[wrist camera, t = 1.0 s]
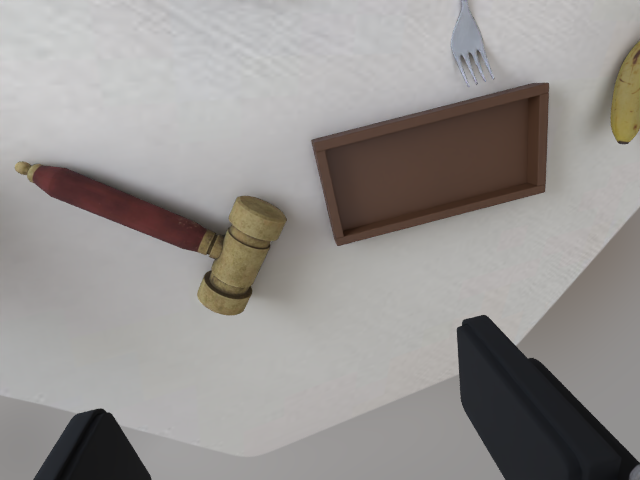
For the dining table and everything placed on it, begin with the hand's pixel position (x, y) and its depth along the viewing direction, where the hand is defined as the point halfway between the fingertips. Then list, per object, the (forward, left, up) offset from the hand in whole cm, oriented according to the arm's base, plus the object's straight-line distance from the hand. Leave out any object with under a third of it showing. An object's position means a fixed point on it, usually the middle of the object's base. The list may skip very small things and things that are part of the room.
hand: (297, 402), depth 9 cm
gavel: (0, -12, -25) cm, 27 cm away
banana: (-1, +31, -25) cm, 40 cm away
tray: (+2, +13, -24) cm, 28 cm away
